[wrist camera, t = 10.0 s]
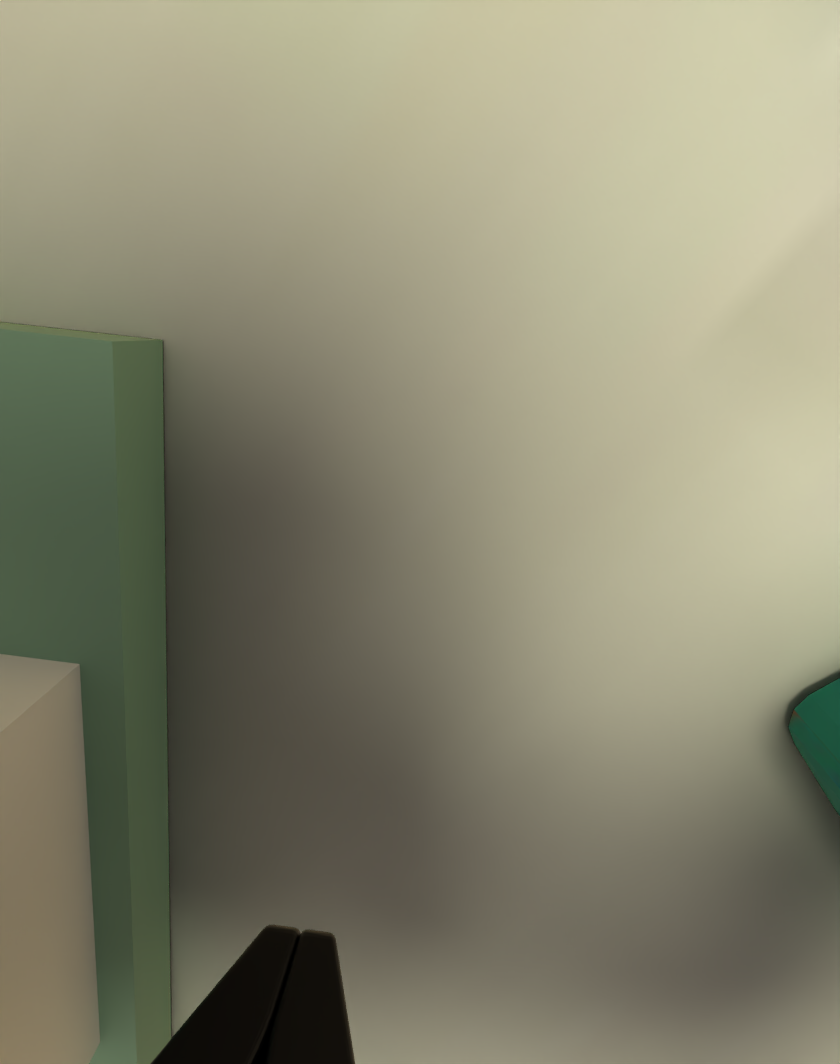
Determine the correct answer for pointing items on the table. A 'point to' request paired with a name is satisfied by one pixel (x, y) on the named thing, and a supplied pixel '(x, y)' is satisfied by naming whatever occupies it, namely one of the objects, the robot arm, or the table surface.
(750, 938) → the table surface
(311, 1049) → the robot arm
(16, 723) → the block
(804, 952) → the table surface
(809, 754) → the digital multimeter
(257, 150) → the table surface
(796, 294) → the table surface
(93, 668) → the header board
